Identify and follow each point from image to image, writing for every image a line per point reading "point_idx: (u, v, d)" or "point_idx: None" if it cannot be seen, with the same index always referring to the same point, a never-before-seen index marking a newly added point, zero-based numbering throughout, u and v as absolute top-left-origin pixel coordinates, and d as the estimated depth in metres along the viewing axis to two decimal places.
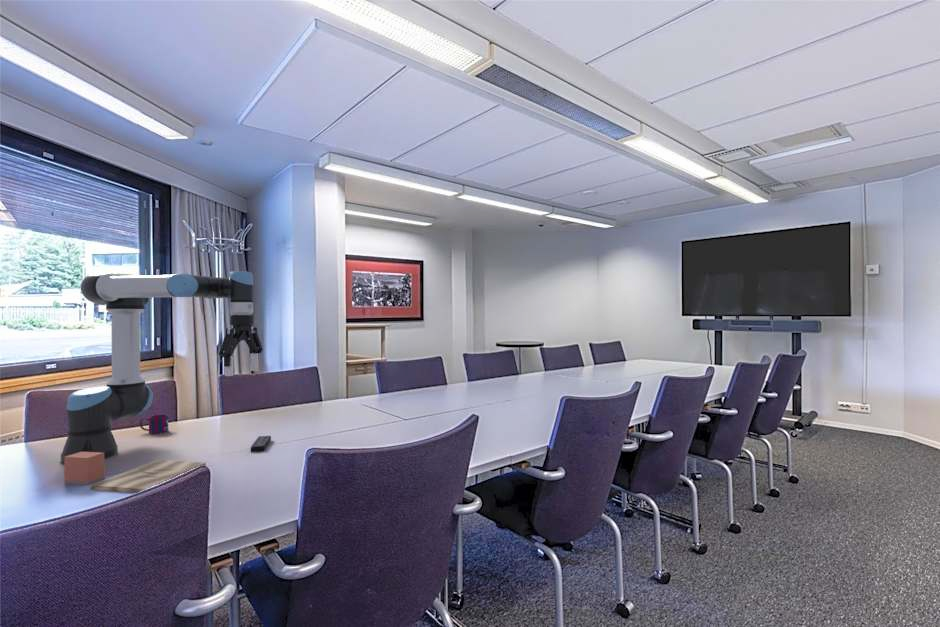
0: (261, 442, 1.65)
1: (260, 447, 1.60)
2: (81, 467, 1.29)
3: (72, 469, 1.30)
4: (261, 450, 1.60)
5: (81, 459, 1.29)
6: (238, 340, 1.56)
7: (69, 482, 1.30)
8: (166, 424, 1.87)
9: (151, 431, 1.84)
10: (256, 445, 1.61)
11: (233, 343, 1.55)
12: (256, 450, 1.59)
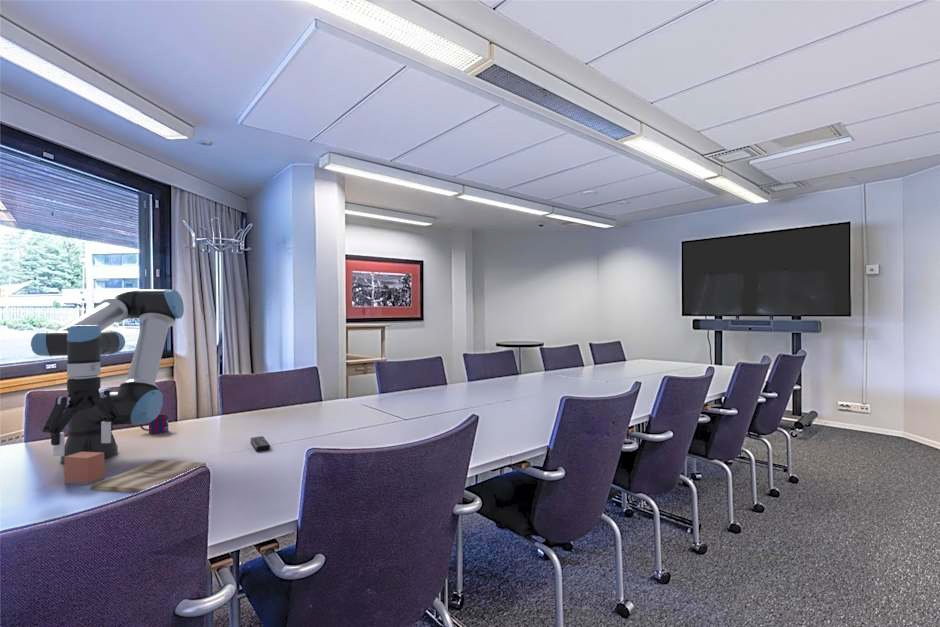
0: (262, 442, 1.65)
1: (266, 446, 1.61)
2: (80, 467, 1.29)
3: (72, 469, 1.30)
4: (267, 449, 1.61)
5: (81, 459, 1.29)
6: (74, 410, 1.28)
7: (69, 482, 1.30)
8: (166, 424, 1.87)
9: (151, 431, 1.84)
10: (261, 444, 1.61)
11: (66, 415, 1.27)
12: (262, 449, 1.60)
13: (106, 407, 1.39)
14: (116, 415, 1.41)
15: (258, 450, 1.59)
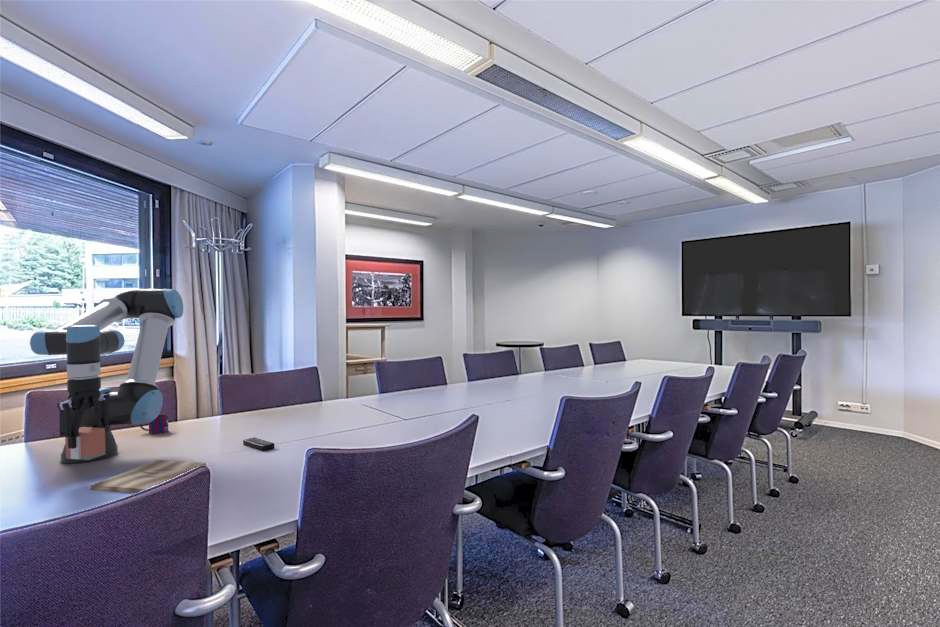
0: (262, 442, 1.65)
1: (272, 445, 1.62)
2: (81, 442, 1.30)
3: None
4: (272, 448, 1.63)
5: (81, 434, 1.30)
6: (80, 412, 1.30)
7: (70, 457, 1.30)
8: (166, 424, 1.87)
9: (151, 431, 1.84)
10: (265, 444, 1.62)
11: (75, 418, 1.29)
12: (268, 448, 1.61)
13: (99, 412, 1.37)
14: (106, 423, 1.37)
15: (265, 449, 1.60)
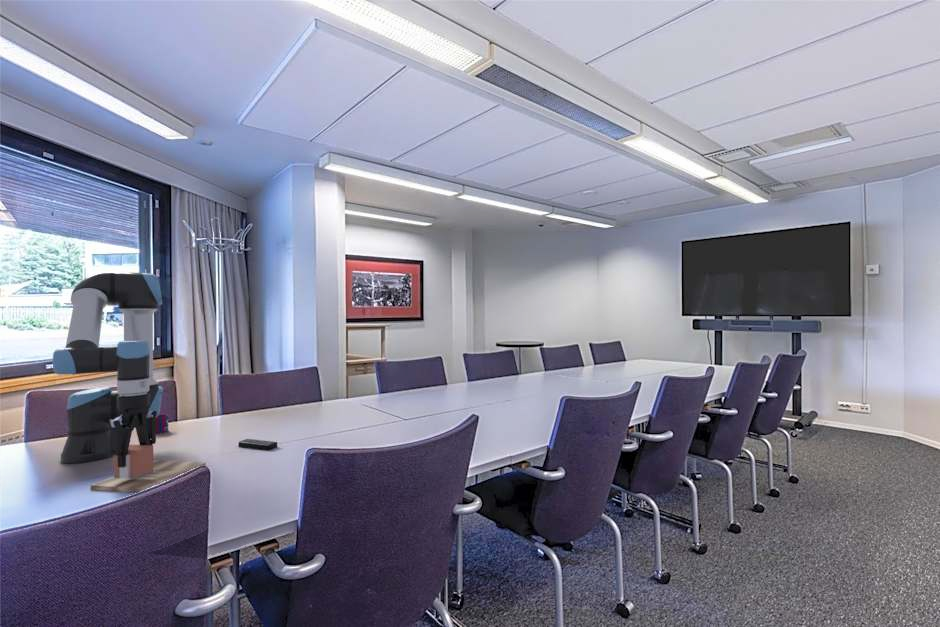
0: (263, 442, 1.65)
1: (275, 443, 1.64)
2: (131, 460, 1.26)
3: None
4: (276, 446, 1.64)
5: (131, 451, 1.26)
6: (130, 430, 1.27)
7: (119, 475, 1.27)
8: (166, 424, 1.87)
9: None
10: (268, 443, 1.63)
11: (125, 436, 1.26)
12: (272, 447, 1.63)
13: (147, 430, 1.34)
14: (153, 441, 1.34)
15: (270, 448, 1.61)
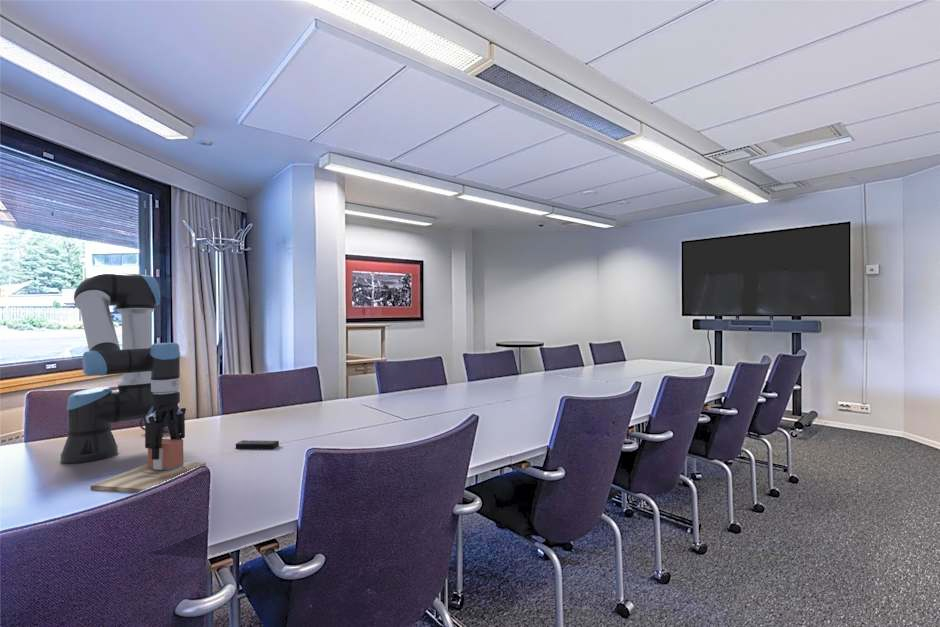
0: (263, 441, 1.65)
1: (277, 442, 1.66)
2: (163, 453, 1.37)
3: None
4: (278, 445, 1.66)
5: (163, 445, 1.37)
6: (163, 425, 1.38)
7: (152, 467, 1.38)
8: (166, 424, 1.87)
9: None
10: (270, 442, 1.64)
11: (158, 431, 1.37)
12: (275, 446, 1.64)
13: (177, 425, 1.45)
14: (182, 435, 1.45)
15: (274, 447, 1.63)
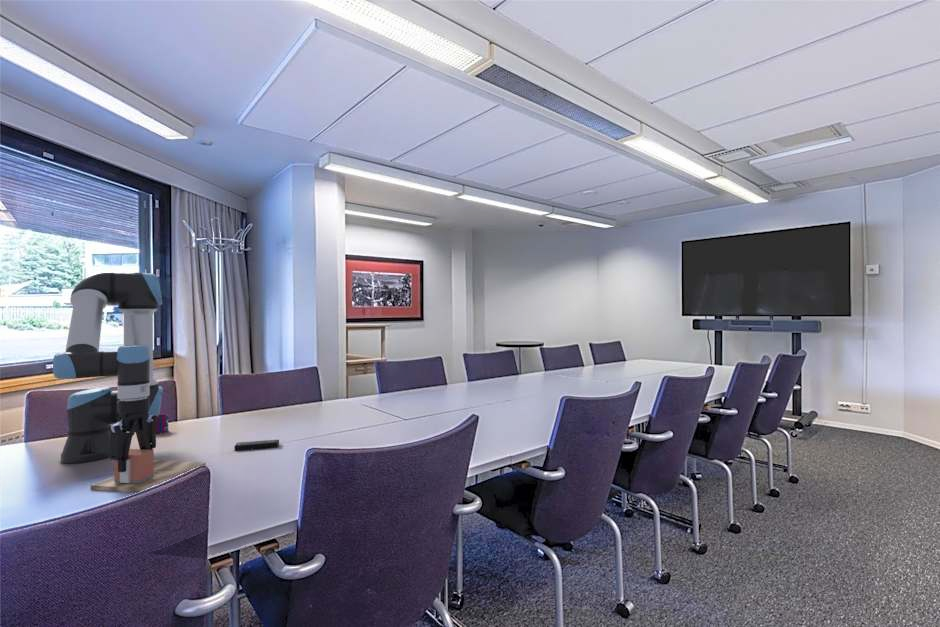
0: (263, 441, 1.65)
1: (278, 441, 1.67)
2: (131, 465, 1.26)
3: None
4: (278, 443, 1.68)
5: (131, 456, 1.26)
6: (131, 435, 1.27)
7: (119, 480, 1.27)
8: (166, 424, 1.87)
9: None
10: (272, 441, 1.65)
11: (125, 441, 1.26)
12: (278, 444, 1.66)
13: (147, 434, 1.34)
14: (153, 445, 1.34)
15: (277, 445, 1.65)
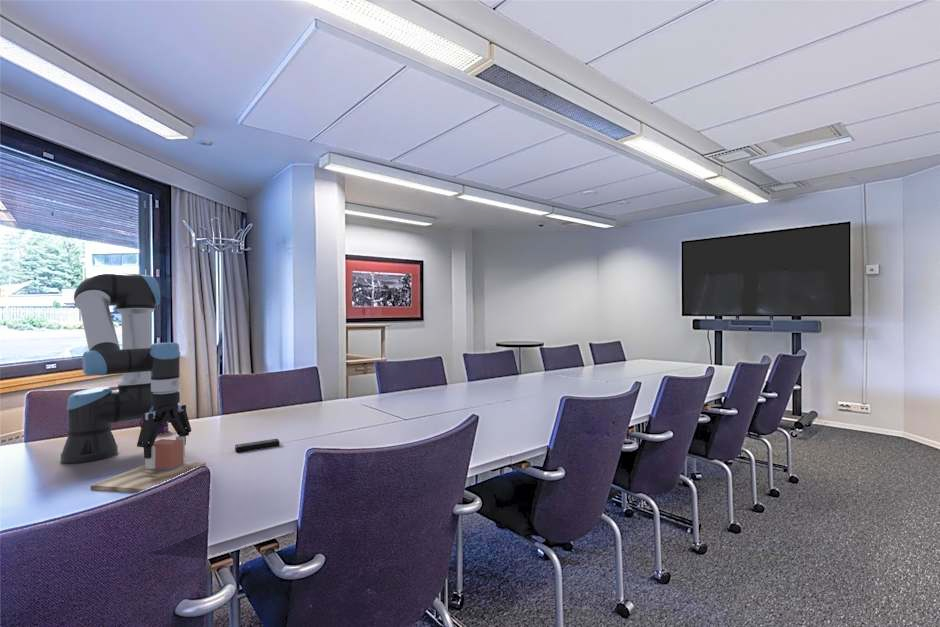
0: (263, 441, 1.66)
1: (278, 440, 1.69)
2: (164, 453, 1.37)
3: (155, 455, 1.38)
4: None
5: (164, 445, 1.37)
6: (160, 424, 1.37)
7: None
8: (166, 424, 1.87)
9: None
10: (273, 440, 1.67)
11: (154, 429, 1.35)
12: None
13: (181, 421, 1.47)
14: (189, 430, 1.48)
15: (279, 444, 1.67)
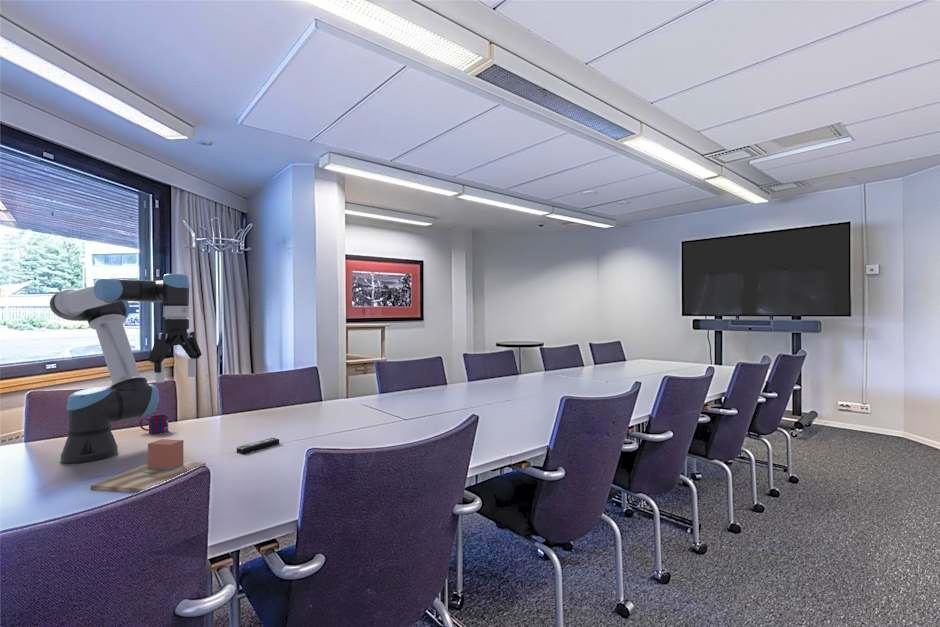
0: (262, 441, 1.66)
1: None
2: (164, 453, 1.37)
3: (155, 455, 1.38)
4: None
5: (164, 445, 1.37)
6: (171, 345, 1.51)
7: (152, 467, 1.38)
8: (166, 424, 1.87)
9: (151, 431, 1.84)
10: (272, 439, 1.68)
11: (165, 348, 1.50)
12: None
13: (191, 346, 1.63)
14: (199, 353, 1.64)
15: None
